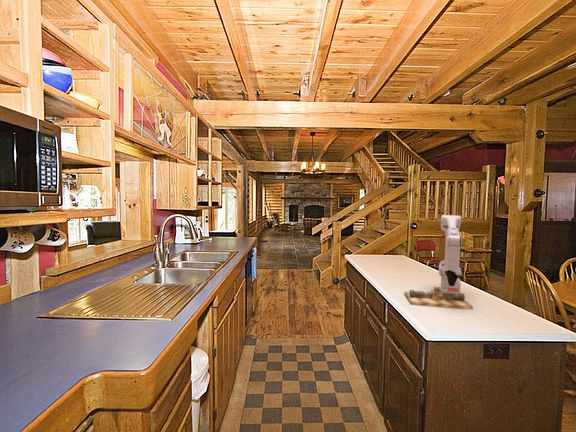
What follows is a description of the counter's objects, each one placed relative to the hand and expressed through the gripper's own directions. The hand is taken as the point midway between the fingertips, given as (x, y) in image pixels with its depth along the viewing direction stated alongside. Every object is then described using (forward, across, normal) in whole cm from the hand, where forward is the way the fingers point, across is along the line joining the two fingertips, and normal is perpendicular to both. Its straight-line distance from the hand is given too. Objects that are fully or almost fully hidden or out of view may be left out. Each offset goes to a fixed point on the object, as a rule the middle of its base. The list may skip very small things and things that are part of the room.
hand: (451, 285), depth 151 cm
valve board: (+9, +2, +6) cm, 11 cm away
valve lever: (+3, +2, +2) cm, 4 cm away
